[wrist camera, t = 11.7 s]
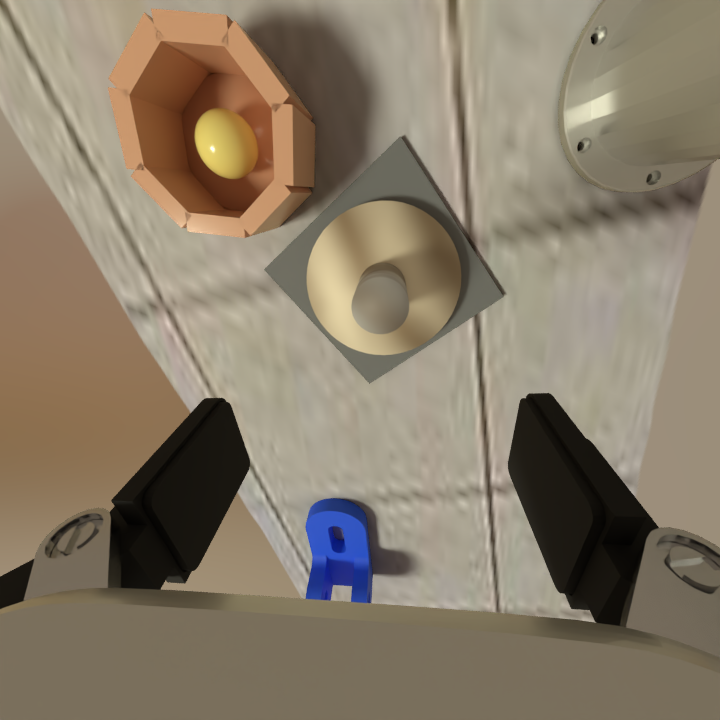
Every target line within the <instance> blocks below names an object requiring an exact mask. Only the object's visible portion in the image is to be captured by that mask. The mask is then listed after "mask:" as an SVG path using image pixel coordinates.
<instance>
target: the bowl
mask: <svg viewBox="0 0 720 720" xmlns="http://www.w3.org/2000/svg"><path fill="white" fill-rule="evenodd" d="M151 11H152V17H153V18H151V17H150V16H149V15H147V14H146V13H145V12H144V14H143V16H142V18H141V20H140V21H139V23H138V25H137V27H136V29H135V31H134V32H133V34H132V36H131V38H130V40H129V42H128V44H127V45H126V47H125V49H124V51H123V53H122V55H121V56H120V58H119V60H118V62H117V64H116V66H115V67H114V69H113V71H112V73H111V75H110V77H109V78H108V79H109V80H110V81H111V82H112V83H113V84H114V85H115V86H116V87H117V88H108V90H109V95H110V99H111V103H112V107H113V112H114V116H115V120H116V125H117V129H118V133H119V138H120V142H121V146H122V151H123V155H124V159H125V164H126V168H127V169H134V170H135V171H134V172H133V174H132V175H131V177H132V178H133V179H134V180H135V181H136V182H137V183H138V184H139V185H140V186H141V187H142V188H143V189H144V190H145V191H146V192H147V193H148V194H149V195H150V196H151V197H152V198H153V199H154V200H155V202H156V203H157V204H158V205H159V206H160V207H161V208H162V209H163V210H164V211H165V212H166V213H167V214H168V215H169V216H170V217H171V218H172V219H173V220H174V221H175V222H176V223H177V224H178V225H179V226H180V227H181V228H187V229H188V232H197V233H206V234H215V235H224V236H233V237H243V238H246V237H249V236H252V235H256V234H259V233H262V232H265V231H269V230H272V229H275V228H278V227H280V226H281V225H282V223H283V222H284V221H285V220H286V219H287V218H288V217H289V216H290V215H291V214H292V213H293V212H294V211H295V210H296V209H297V208H298V207H299V206H300V205H301V204H302V203H303V202H304V201H305V200H306V199H307V198H308V197H309V196H310V195H311V194H312V192H311V191H310V189H309V188H308V187H314V181H315V124H314V123H313V122H311V120H312V119H313V117H312V115H311V114H310V113H309V111H308V110H307V109H306V107H305V106H304V104H303V103H302V102H301V100H300V99H299V97H298V96H297V95H296V93H295V92H294V91H293V89H292V88H291V86H290V85H289V84H288V82H287V81H286V79H285V78H284V77H283V75H282V74H281V73H280V71H279V70H278V68H277V67H276V66H275V64H274V63H273V62H272V61H271V60H270V58H269V57H268V56H267V55H266V54H265V53H264V52H263V51H262V50H261V49H260V47H259V46H258V45H257V44H256V43H255V42H254V41H253V40H252V39H251V38H250V36H249V35H248V34H247V33H246V32H245V31H244V30H243V29H242V28H241V27H240V26H239V24H238V23H237V22H236V21H235V20H234V21H232V20H231V19H230V18H229V17H228V16H227V15H221V14H209V13H197V12H185V11H173V10H161V9H151Z"/></svg>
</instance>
